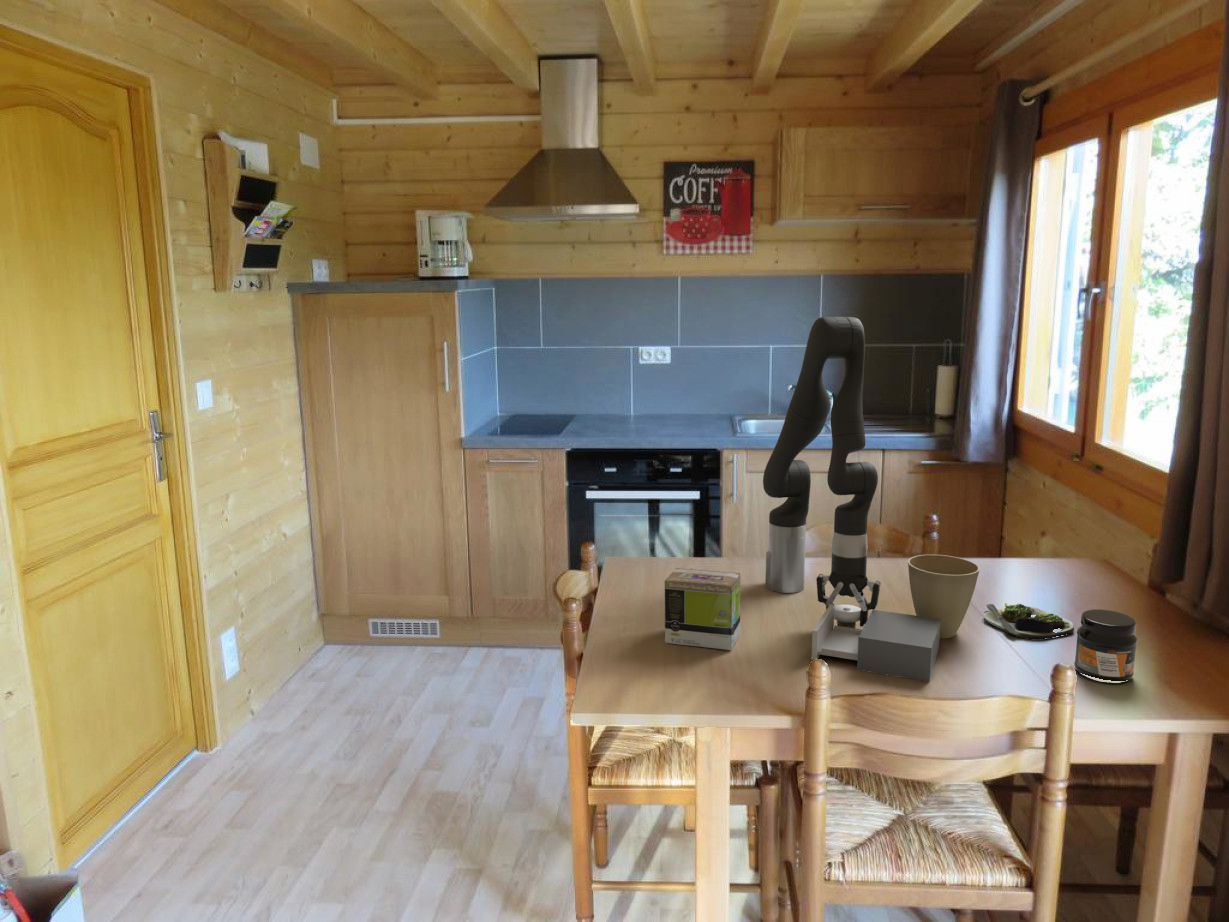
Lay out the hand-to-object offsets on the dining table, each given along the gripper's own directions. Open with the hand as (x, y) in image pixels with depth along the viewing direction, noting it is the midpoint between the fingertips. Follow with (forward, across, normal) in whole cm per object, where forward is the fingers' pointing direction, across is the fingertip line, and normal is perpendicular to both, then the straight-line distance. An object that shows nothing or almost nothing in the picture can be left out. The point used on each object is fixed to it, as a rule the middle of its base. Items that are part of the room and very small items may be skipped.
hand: (846, 622), depth 204 cm
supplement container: (+2, +51, -2) cm, 51 cm away
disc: (-1, 0, 0) cm, 1 cm away
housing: (+2, +13, -11) cm, 17 cm away
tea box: (+2, -28, -17) cm, 33 cm away
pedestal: (+2, 0, 0) cm, 2 cm away
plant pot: (+2, +19, +8) cm, 21 cm away
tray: (+2, +4, -11) cm, 12 cm away
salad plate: (+3, +37, +20) cm, 42 cm away
